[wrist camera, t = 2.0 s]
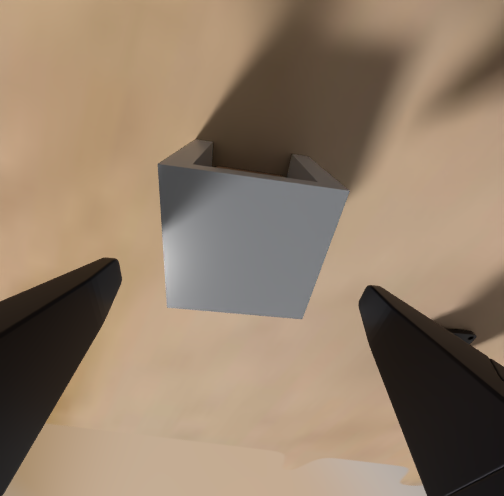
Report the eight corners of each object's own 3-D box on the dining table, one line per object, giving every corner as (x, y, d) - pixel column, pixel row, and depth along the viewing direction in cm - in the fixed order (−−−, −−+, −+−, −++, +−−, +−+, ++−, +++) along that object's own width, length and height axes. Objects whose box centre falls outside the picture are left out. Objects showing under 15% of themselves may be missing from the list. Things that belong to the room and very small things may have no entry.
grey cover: (308, 156, 14) (349, 190, 8) (284, 250, 17) (302, 319, 12) (195, 139, 13) (157, 164, 8) (193, 239, 17) (166, 307, 11)
